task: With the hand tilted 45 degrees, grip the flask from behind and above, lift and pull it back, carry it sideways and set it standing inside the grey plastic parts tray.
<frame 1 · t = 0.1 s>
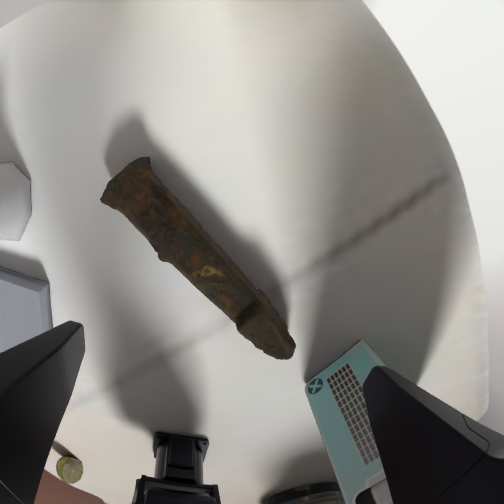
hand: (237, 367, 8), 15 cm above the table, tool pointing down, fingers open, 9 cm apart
dark grey coffee pot: (307, 495, 40), on the table
flask: (6, 200, 18), on the table
lime: (73, 458, 31), on the table
parts tray: (3, 327, 22), on the table
light blue box: (365, 391, 30), on the table
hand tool: (218, 256, 23), on the table
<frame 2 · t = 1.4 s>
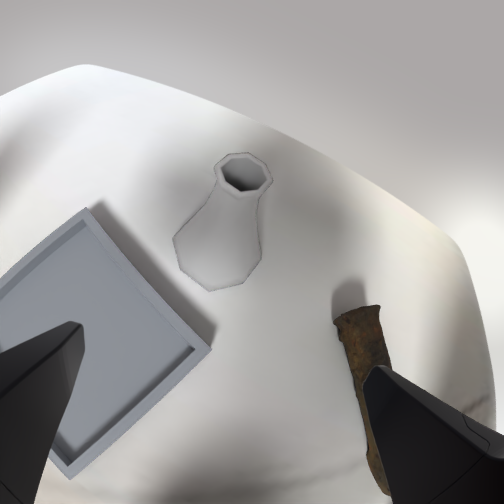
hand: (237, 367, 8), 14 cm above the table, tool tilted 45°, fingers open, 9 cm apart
flask: (216, 251, 25), on the table
parts tray: (72, 342, 18), on the table
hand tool: (370, 409, 22), on the table
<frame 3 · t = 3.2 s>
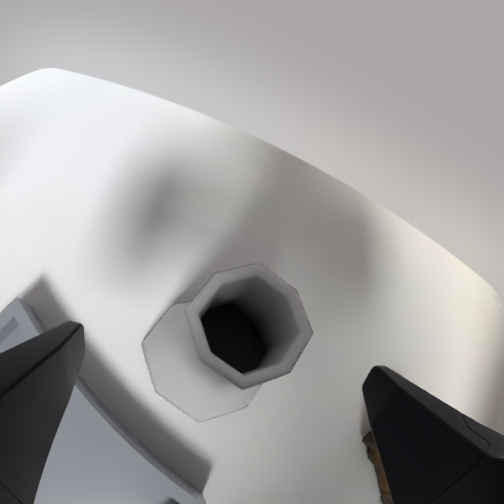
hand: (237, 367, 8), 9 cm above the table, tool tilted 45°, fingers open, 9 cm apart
flask: (206, 358, 16), on the table
parts tray: (32, 469, 9), on the table
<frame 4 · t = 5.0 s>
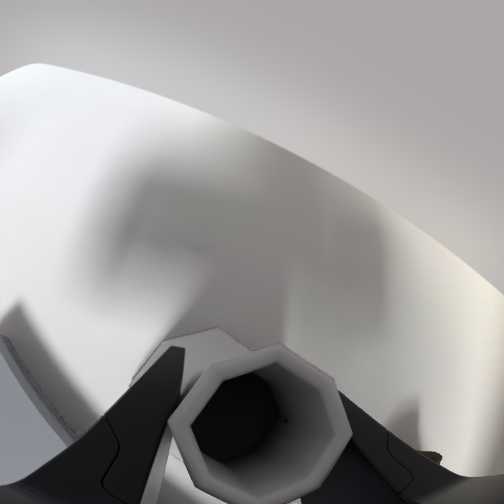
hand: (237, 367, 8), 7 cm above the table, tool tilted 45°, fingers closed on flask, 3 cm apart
flask: (205, 400, 13), on the table, touching gripper
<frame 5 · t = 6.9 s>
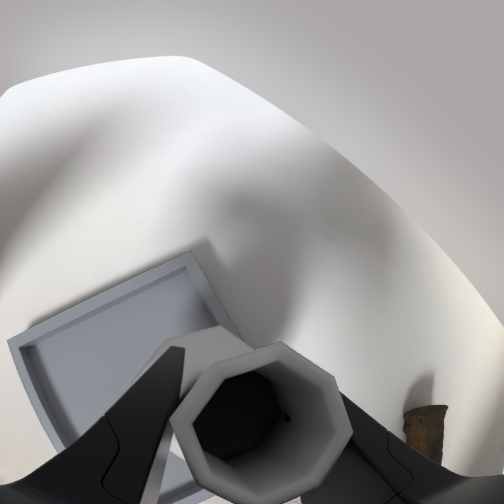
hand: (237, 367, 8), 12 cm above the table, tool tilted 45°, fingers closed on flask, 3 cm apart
flask: (207, 398, 13), point 5 cm above the table, touching gripper
parts tray: (148, 401, 17), on the table
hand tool: (409, 489, 18), on the table
when the fingers open (9 cm above the table, at t = 8.7 s): flask drops 1 cm, resting on parts tray.
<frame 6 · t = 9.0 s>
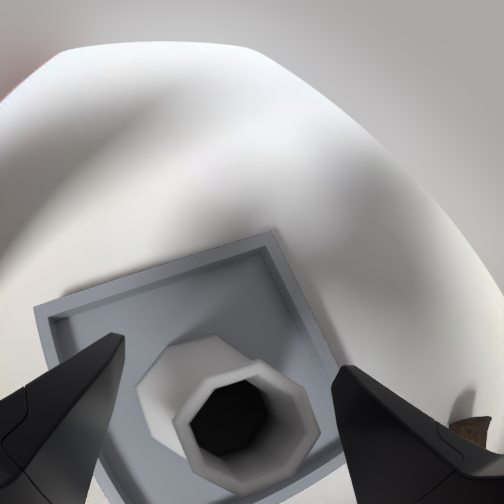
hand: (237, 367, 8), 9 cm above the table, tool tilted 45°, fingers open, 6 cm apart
flask: (204, 401, 14), point 1 cm above the table, touching parts tray
parts tray: (202, 397, 15), on the table
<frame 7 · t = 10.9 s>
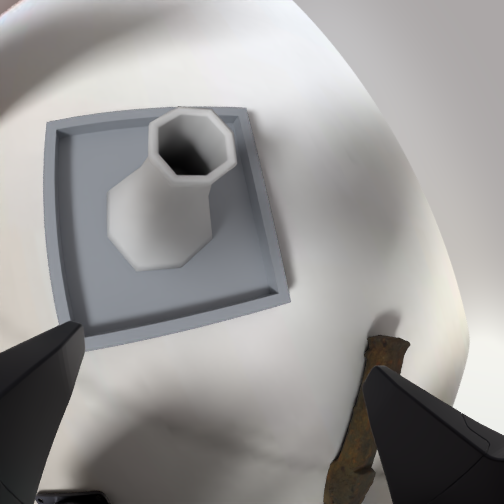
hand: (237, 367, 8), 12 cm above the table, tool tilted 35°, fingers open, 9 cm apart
flask: (158, 217, 18), point 1 cm above the table, touching parts tray
parts tray: (157, 217, 19), on the table
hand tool: (353, 425, 24), on the table
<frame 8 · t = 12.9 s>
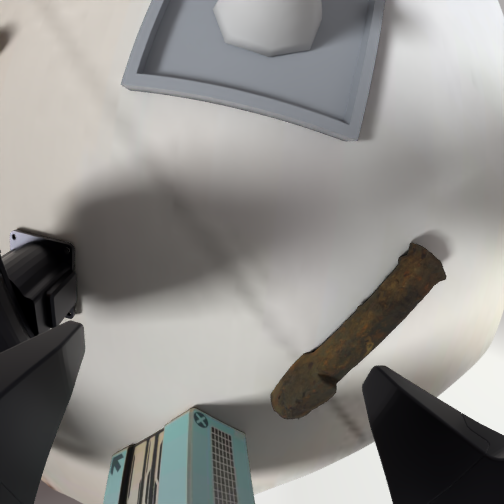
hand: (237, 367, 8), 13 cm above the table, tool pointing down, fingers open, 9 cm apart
flask: (267, 14, 14), point 1 cm above the table, touching parts tray
parts tray: (267, 16, 15), on the table
light blue box: (172, 445, 28), on the table
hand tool: (347, 329, 25), on the table
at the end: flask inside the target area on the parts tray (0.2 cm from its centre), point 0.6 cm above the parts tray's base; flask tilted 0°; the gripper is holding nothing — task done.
